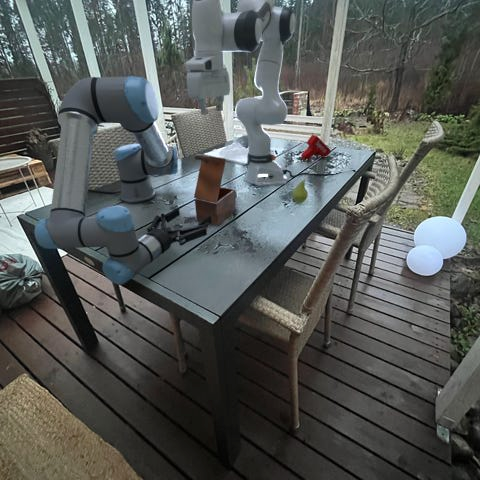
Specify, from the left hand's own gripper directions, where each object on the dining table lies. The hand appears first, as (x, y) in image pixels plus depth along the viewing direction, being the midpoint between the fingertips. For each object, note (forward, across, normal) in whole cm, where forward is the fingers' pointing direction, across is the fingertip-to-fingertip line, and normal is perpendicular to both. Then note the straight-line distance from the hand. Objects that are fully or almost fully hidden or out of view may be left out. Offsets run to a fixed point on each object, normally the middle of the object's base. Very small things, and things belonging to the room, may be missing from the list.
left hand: (194, 215), depth 96 cm
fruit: (+42, +27, -7) cm, 51 cm away
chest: (+15, 0, -7) cm, 17 cm away
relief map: (+97, -33, -7) cm, 103 cm away
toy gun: (+112, +18, -7) cm, 113 cm away
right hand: (+16, 0, +31) cm, 35 cm away
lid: (+12, 0, +9) cm, 15 cm away
